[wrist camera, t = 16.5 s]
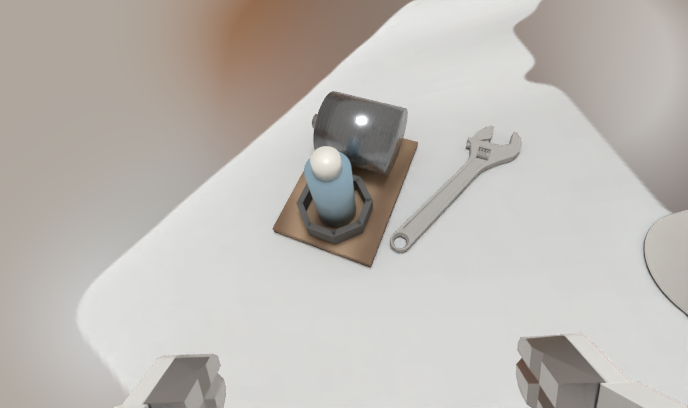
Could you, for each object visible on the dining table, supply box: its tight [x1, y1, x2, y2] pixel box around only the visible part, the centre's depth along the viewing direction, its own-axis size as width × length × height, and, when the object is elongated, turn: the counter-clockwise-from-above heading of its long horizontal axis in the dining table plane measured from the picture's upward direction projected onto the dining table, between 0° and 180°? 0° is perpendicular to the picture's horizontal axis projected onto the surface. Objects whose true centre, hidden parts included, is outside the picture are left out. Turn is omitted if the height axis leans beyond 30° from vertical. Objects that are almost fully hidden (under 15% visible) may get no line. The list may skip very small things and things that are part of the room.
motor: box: [312, 91, 407, 176], centre depth 46 cm, size 12×9×9 cm
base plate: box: [273, 138, 418, 267], centre depth 48 cm, size 14×20×1 cm
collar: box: [296, 175, 373, 245], centre depth 45 cm, size 9×9×2 cm
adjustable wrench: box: [390, 126, 522, 253], centre depth 47 cm, size 25×6×2 cm, turn 130°
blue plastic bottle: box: [304, 146, 356, 228], centre depth 40 cm, size 5×5×12 cm
